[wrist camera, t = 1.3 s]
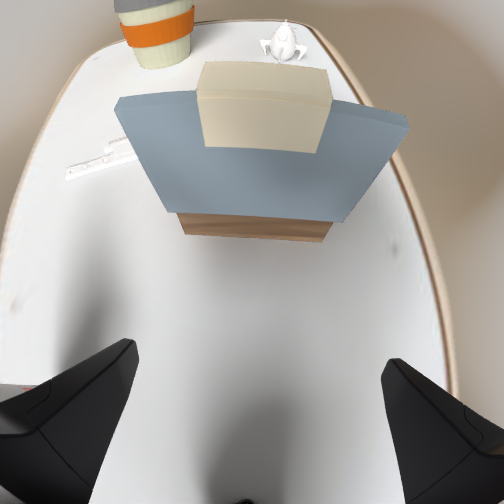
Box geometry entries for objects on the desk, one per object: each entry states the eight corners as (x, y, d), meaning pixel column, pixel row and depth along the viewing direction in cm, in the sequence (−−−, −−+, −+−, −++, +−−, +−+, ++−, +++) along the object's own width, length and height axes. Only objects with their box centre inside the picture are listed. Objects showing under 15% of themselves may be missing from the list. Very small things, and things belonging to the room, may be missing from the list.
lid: (340, 198, 20) (342, 224, 19) (172, 188, 20) (167, 213, 19) (403, 88, 9) (417, 120, 9) (124, 70, 9) (107, 100, 9)
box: (321, 242, 24) (337, 213, 20) (185, 234, 24) (172, 203, 20) (314, 157, 28) (324, 123, 23) (201, 150, 28) (196, 115, 23)
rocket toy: (277, 68, 36) (281, 25, 28) (258, 55, 37) (260, 15, 30) (305, 63, 37) (311, 23, 29) (285, 50, 38) (289, 13, 31)
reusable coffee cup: (159, 81, 34) (142, -5, 20) (116, 68, 36) (97, 1, 23) (215, 49, 38) (211, -24, 24) (168, 40, 41) (159, -22, 27)
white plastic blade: (74, 152, 29) (71, 146, 28) (183, 123, 30) (182, 117, 29) (67, 182, 27) (63, 176, 26) (185, 151, 28) (183, 145, 27)
